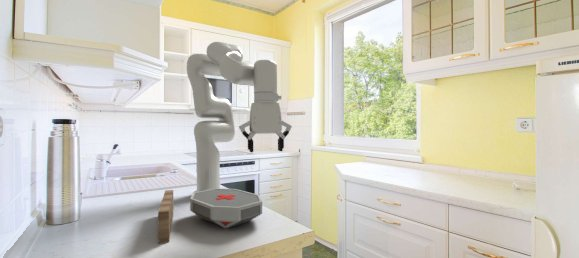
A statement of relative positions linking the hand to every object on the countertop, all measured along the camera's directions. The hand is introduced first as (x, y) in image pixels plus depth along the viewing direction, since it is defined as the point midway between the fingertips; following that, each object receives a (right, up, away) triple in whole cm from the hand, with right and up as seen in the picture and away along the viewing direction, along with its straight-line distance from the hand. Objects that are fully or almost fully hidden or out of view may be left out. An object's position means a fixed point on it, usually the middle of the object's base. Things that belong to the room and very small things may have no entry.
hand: (266, 151), depth 95 cm
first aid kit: (-13, -22, -2) cm, 25 cm away
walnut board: (-29, -22, -8) cm, 37 cm away
